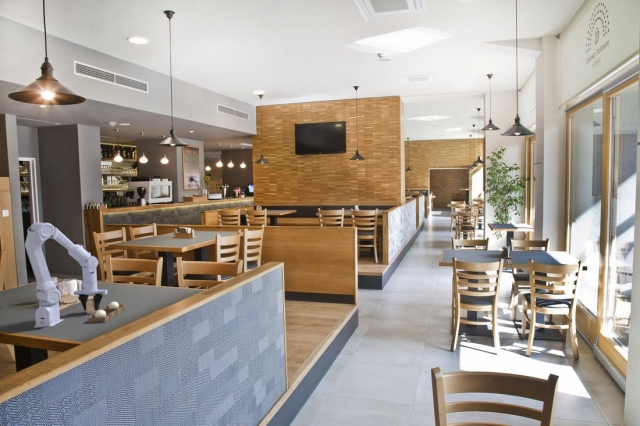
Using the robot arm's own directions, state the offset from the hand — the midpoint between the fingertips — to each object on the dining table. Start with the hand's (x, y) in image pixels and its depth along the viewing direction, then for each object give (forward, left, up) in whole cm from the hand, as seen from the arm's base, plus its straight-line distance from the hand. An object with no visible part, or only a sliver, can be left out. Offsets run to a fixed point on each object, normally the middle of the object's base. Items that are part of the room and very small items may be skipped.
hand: (91, 310), depth 206 cm
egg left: (-13, -10, -1) cm, 16 cm away
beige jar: (0, 0, -2) cm, 2 cm away
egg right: (+1, -10, -1) cm, 10 cm away
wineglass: (+26, +33, -2) cm, 42 cm away
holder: (-6, -10, -2) cm, 12 cm away
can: (+22, +21, -2) cm, 30 cm away
